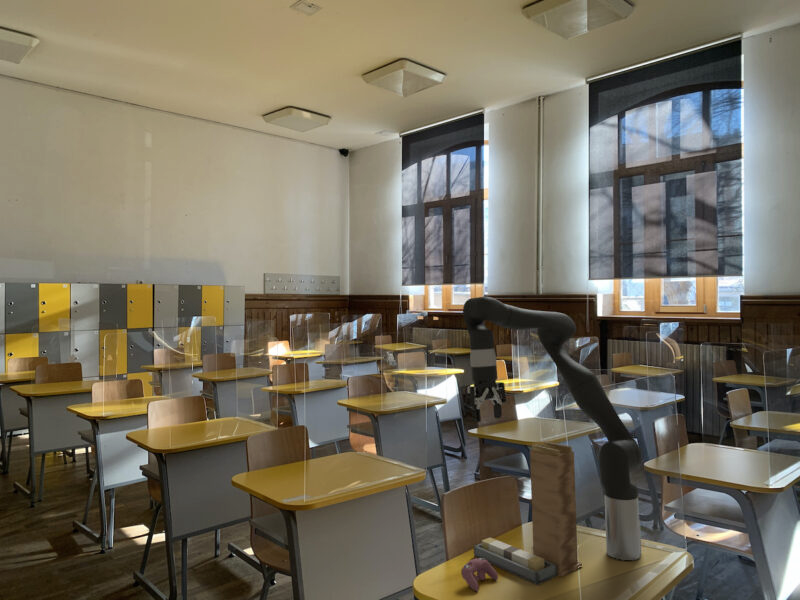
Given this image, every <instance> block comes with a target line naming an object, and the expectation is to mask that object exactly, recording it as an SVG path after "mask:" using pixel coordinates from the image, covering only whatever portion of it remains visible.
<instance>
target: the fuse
mask: <svg viewBox="0 0 800 600" xmlns="http://www.w3.org/2000/svg"><path fill="white" fill-rule="evenodd" d="M481 543H482V548H483V549H485V550H488V551H490V552H492V553H495V554H497V555H499V556H501V557H504V558H506V559H508V560H511V561H513V562H515V563H518V564H520V565H522V566H525V567H527V568H529V569H532V570H534V571H536V572H537V571H540V570H542V569H544V568H545V565H544V559H543V558H541V557H538V556H536V555H534V554H533V553H531V552H528V551H526V550H524V549H521V548H518V547H516V546H513V545H510V544H508V543H505V542H503V541H500V540H497V539H496V538H493V537H487V538H485V539H482V540H481Z"/></svg>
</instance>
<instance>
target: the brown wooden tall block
mask: <svg viewBox="0 0 800 600" xmlns="http://www.w3.org/2000/svg"><path fill="white" fill-rule="evenodd" d="M529 459H530V460H529V464H530V491H531V493H530V494H531V520H532V545H533V547H532V548H533V550H532V551H533V552H532V554H533V555H536V556H538V557H541V558H543V559H544V560H546V561H549V562H551V563H554V564H556V565H557V576H559V577H561V578H562V577H565V576H566V575H568V574H570V573H573V572H575V571H577V570H578V569H577V568H578V567H579V566H582V567H583V563H582V562H580V561H579V558H578V557H579V556H578V555H579V554H578V533H577V505H576V504H577V502H576V501H577V500H576V499H577V498H576V481H575V480H576V476H575V475H576V474H575V473H576V472H575V469H576V468H575V452H574V451H573V447H572V446H569V445H564V444H559V443H555V442H550V441H544V442H543V446H541V445H537V444H536V445H535V444H531V450H530V451H529ZM576 569H577V570H576Z"/></svg>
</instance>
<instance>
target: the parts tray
mask: <svg viewBox="0 0 800 600" xmlns="http://www.w3.org/2000/svg"><path fill="white" fill-rule="evenodd" d="M473 554H474V555H473V556H474V558H484V559H485V560H487V561H488V562H489V564H490V565H491V566H492V565H493V566H495V567H496V568H499V569H501V570H503V571H505V572H507V573H510V574H512V575H514V576H517V577H519V578H521V579H523V580H525V581H528V582H530V583H532V584H534V585H536V586H540V585H541V584H543V583H545V582H547V581H549V580H552V579H554V578H555V577H558V575H557V565H556V564H554V563H551V562H549V561H546V560H544V565H545V568H544V569H542V570H540V571H537V572H536V571H534V570H532V569H529V568H527V567H525V566H522V565H520V564H518V563H515V562H513V561H511V560H508V559H506V558H504V557H501V556H499V555H497V554H495V553H492V552H490V551H488V550H485V549H483V548H482V542H481V543H478V544H476V545H474V546H473Z"/></svg>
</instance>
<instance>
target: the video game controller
mask: <svg viewBox="0 0 800 600" xmlns="http://www.w3.org/2000/svg"><path fill="white" fill-rule="evenodd" d="M460 571H461V576H462V579H463V580H464V581H465V582H466V584H467V586H468V587H470V589H472V590H473V591H474V592H478V591H479V590H480V587H479V584H478V583H479V581H484V580H485V579H486V575H487V576H488V577H490V578H491V579H492V580H495V581H497V580H498V579H499V575H498V572H497V571H496V569H494V567H493V566H492V564H490V563H489V562H488V561H487V560H485V559H484V558H477V557H475V558H473V559H470V560H469V561H467V563H466V564H465V565H464V566H463V567H462V568H461V570H460ZM475 573H476V574H475Z"/></svg>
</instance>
